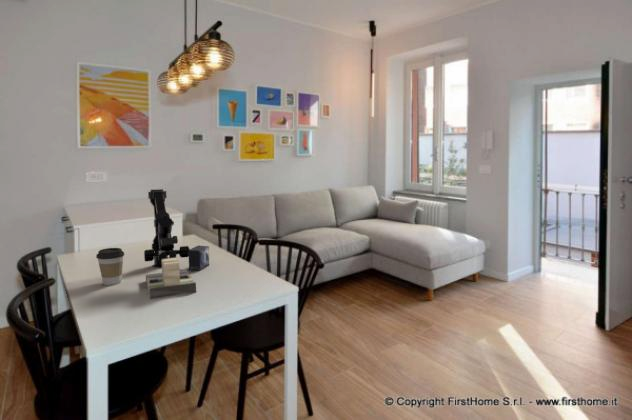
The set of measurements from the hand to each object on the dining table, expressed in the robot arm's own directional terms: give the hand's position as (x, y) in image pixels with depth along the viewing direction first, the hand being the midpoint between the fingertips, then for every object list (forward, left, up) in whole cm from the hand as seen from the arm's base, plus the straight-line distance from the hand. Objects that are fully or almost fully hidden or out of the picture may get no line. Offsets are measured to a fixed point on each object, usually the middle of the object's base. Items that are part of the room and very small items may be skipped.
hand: (169, 270), depth 175 cm
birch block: (+3, -3, -5) cm, 7 cm away
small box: (-5, +29, -8) cm, 31 cm away
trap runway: (-1, +1, -8) cm, 8 cm away
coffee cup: (-28, -3, -8) cm, 30 cm away
